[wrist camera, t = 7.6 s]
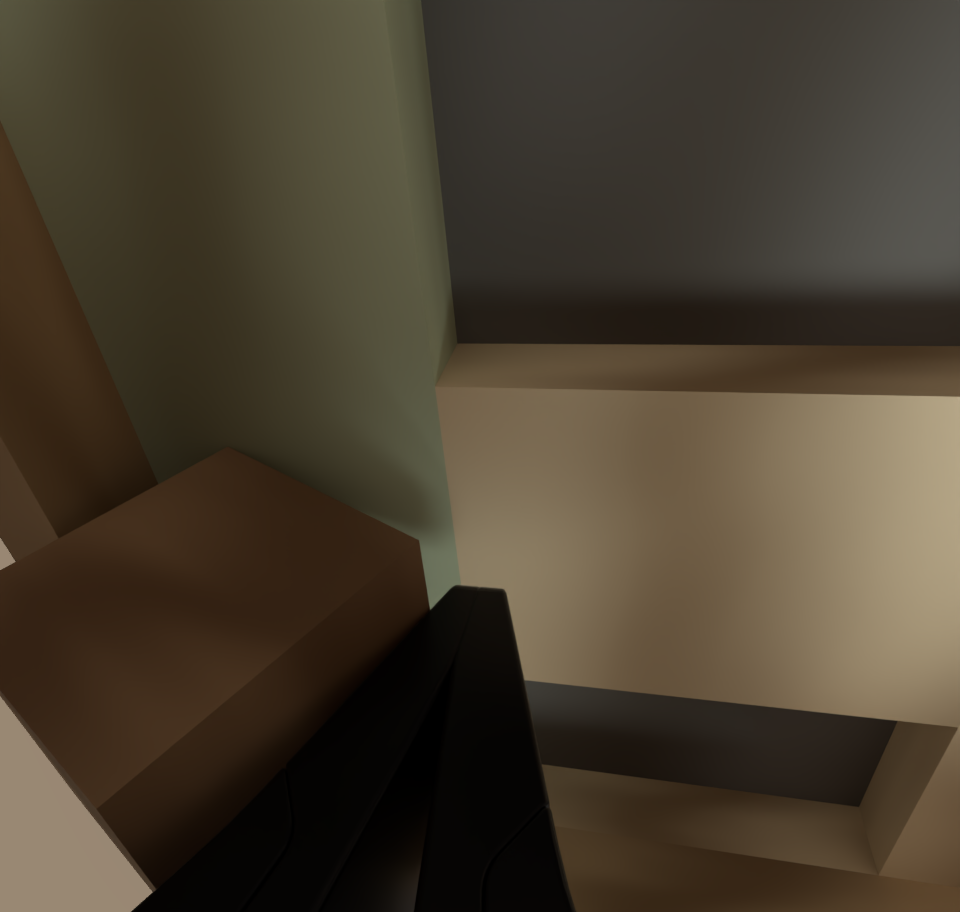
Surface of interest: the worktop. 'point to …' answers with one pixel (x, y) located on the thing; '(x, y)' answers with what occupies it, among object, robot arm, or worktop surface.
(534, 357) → the track
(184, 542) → the walnut block
